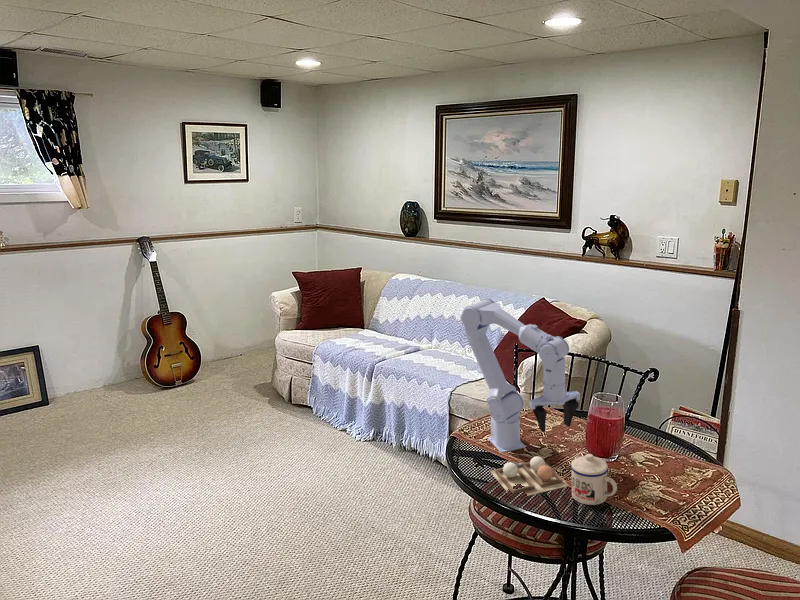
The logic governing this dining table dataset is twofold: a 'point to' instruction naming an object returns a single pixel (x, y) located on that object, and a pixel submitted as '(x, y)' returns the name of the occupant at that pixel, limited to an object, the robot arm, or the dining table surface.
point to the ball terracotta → (545, 473)
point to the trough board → (528, 480)
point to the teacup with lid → (590, 480)
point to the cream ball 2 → (536, 463)
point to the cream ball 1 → (510, 470)
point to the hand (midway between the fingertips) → (554, 427)
